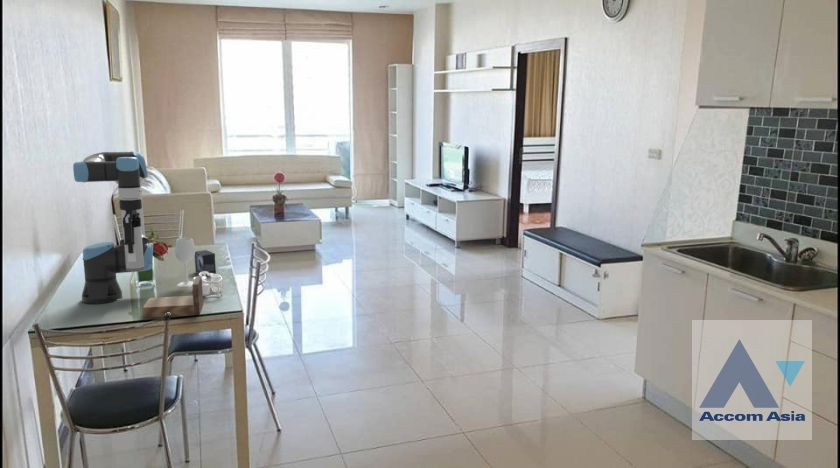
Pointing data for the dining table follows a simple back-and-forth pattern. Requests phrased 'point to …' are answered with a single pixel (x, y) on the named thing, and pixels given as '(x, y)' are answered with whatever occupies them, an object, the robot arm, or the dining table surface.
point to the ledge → (176, 303)
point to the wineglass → (185, 256)
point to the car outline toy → (206, 284)
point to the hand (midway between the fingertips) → (134, 259)
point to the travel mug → (138, 246)
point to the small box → (205, 261)
